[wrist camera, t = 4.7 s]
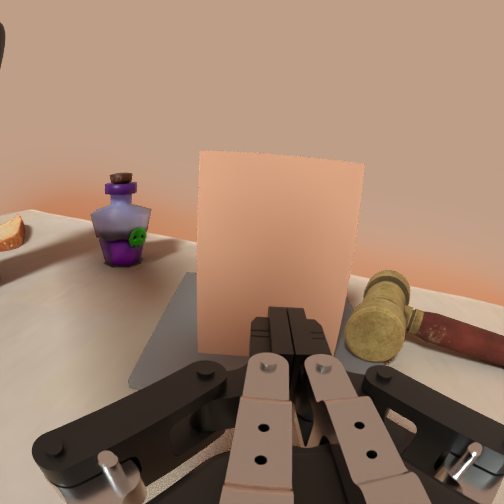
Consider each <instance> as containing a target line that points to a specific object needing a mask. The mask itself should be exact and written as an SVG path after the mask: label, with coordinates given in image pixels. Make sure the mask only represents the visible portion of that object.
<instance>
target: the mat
mask: <svg viewBox="0 0 504 504" xmlns="http://www.w3.org/2000/svg"><path fill="white" fill-rule="evenodd" d="M353 311H354V310H353V308H352V306H351V305H350V303H349V301H348V299H347V298H346V301H345V306H344V311H343V316H342V320H341V325H340V330H339V334H338V339H337V343H336V348H335V352H334V356H333V357H335V358H337V359H338V360H339V361H340V362H341V363H342V364H343V367H344V369H345V370H346V371H349V372H353V373H358V374H363V375H365V373H366V370H367V369H368V368H369V367H371V366H374V365H385V364H384V363H383V362H377V363H374V362H367V361H364V360H362V359H360V358H358V357H357V356H355V355H354V354H353V353H352V352H351V351H350V349H349V348H348V346H347V344H346V342H345V336H344V335H345V327H346V324H347V322H348V320H349V318H350V316H351V315H352V313H353ZM202 360H209V361H214V362H217V363H219V364H221V365H222V366H223V367H225V369H226V371H230V370H235V369H239V368H241V367H243V366H245V365H246V364H247V363H248V360H249V357H248V356H233V355H220V354H208V353H198V339H197V273H189V272H187V273H186V275H185V277H184V278H183V280H182V282H181V284H180V285H179V287H178V289H177V291H176V292H175V294H174V296H173V298H172V300H171V301H170V303H169V305H168V307H167V309H166V311H165V312H164V314H163V316H162V318H161V320H160V321H159V323H158V325H157V327H156V329H155V331H154V333H153V334H152V336H151V338H150V340H149V342H148V344H147V346H146V348H145V349H144V351H143V353H142V355H141V357H140V359H139V361H138V363H137V365H136V367H135V369H134V370H133V372H132V374H131V376H130V378H129V380H128V382H129V387H130V388H135V389H143V388H145V387H147V386H149V385H151V384H153V383H155V382H157V381H159V380H161V379H163V378H165V377H167V376H168V375H170V374H172V373H174V372H176V371H178V370H180V369H182V368H184V367H186V366H187V365H189V364H191V363H193V362H196V361H202ZM292 403H295V402H292Z"/></svg>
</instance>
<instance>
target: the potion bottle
mask: <svg viewBox="0 0 504 504" xmlns="http://www.w3.org/2000/svg"><path fill="white" fill-rule="evenodd" d="M110 180H111V183H107V184H105V194H110V195H111V205H109V206H106V207H103V208H101V209H98V210H96V211H94V212H93V213H92V214H91V219H92V223H93V226H94V230H95V234H96V237H97V238H100V239H99V241H100V245H101V248H102V252H103V255H104V258H105V264H107V265H109V266H111V267H130V266H134V265H137V264H140V263H141V261H142V258H141V255H142V249H143V243H144V242H145V239H146V231H147V229H148V224H149V219H150V214H151V209H149V208H146V207H142V206H138V205H134V204H132V203H131V202H132V201H131V200H132V193H136V192H137V182H131V180H132V174H131V173H116V174H112V175H110Z"/></svg>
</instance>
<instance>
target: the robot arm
mask: <svg viewBox="0 0 504 504" xmlns="http://www.w3.org/2000/svg"><path fill="white" fill-rule="evenodd" d="M4 47H5V30H4V27H3V25H2V24H1V23H0V67H1V63H2V58H3V52H4ZM292 402H295V411H294V416H293V418H294V423H295V427H296V432H297V436H298V440H299V445H300V447H297V446H292ZM390 409H391V410H393V411H395V412H396V413H398V414H400V415H402V416H403V417H405V418H407V419H408V420H410V421H412V422H413V423H414V424H415V425H416V427H417V433H416V434H414V433H412V432H410V431H408V430H407V429H405V428H403V427H402V426H400V425H398V424H397V423H395V422H393V421H392V420H390V419H388V418H387V415H388V413H389V411H390ZM229 428H235V430H234V436H233V441H232V446H231V451H228V452H224V453H221V454H218V455H216V456H213V457H211V458H209V459H208V460H206V461H204V462H203V463H201V464H200V465H198V466H197V467H196V468H195V469H193V470H192V471H191V472H189V473H188V474H187V475H185V476H184V477H183V478H181V479H180V480H179V481H177V482H176V483H174V484H173V485H172V486H170V487H169V488H168V489H166V490H165V491H163V492H162V493H160V494H159V495H157V496H156V497H155V498H153V499H152V500H150V501H149V502H147V503H146V504H492V502H493V500H494V498H495V496H496V493H497V491H498V489H499V487H500V484H501V482H502V479H503V477H504V425H503V424H501V423H498V422H496V421H494V420H492V419H490V418H488V417H486V416H484V415H482V414H480V413H478V412H476V411H474V410H472V409H470V408H468V407H466V406H464V405H462V404H460V403H458V402H456V401H454V400H452V399H451V398H449V397H447V396H445V395H443V394H441V393H439V392H437V391H435V390H433V389H431V388H429V387H427V386H426V385H424V384H422V383H420V382H418V381H416V380H414V379H412V378H410V377H408V376H407V375H405V374H403V373H401V372H399V371H397V370H395V369H394V368H391V367H389V366H385V365H374V366H371V367H369V368H368V369H367V370H366V373H365V375H363V374H358V373H353V372H349V371H346V370H345V369H344V367H343V364H342V363H341V362H340V361H339V360H338V359H337V358H335V357H333V356H332V354H331V351H330V348H329V345H328V342H327V340H326V337H325V334H324V331H323V328H322V325H320V324H319V323H318V322H317V321H316V320H315V319H307V318H306V315H305V311H304V308H295V307H274V306H269V307H268V315H267V317H255V318H254V320H253V321H252V322H251V329H250V342H249V360H248V363H247V364H246V365H245V366H243V367H241V368H239V369H235V370H230V371H226V369H225V367H223V366H222V365H221V364H219V363H217V362H214V361H209V360H202V361H196V362H193V363H191V364H189V365H187V366H186V367H184V368H182V369H180V370H178V371H176V372H174V373H172V374H170V375H168V376H167V377H165V378H163V379H161V380H159V381H157V382H155V383H153V384H151V385H149V386H147V387H145V388H143V389H141V390H139V391H137V392H135V393H133V394H131V395H129V396H127V397H125V398H123V399H121V400H118V401H116V402H114V403H112V404H110V405H108V406H106V407H104V408H101V409H99V410H97V411H95V412H93V413H91V414H88V415H86V416H84V417H82V418H80V419H77V420H75V421H73V422H70V423H68V424H66V425H64V426H61V427H59V428H57V429H54V430H52V431H49V432H47V433H45V434H43V435H41V436H40V437H38V438H37V439H36V441H35V442H34V444H33V447H32V455H33V458H34V460H35V462H36V463H37V465H38V466H39V467H40V469H41V470H42V472H43V473H44V476H45V478H46V479H47V480H48V482H49V483H50V484H51V486H52V487H53V488H54V489H55V491H56V492H57V493H58V494H59V496H60V497H61V498H62V499H63V500H65V501H66V503H67V504H143V502H144V501H145V499H146V495H147V492H146V488H145V487H146V486H148V485H150V484H151V483H153V482H154V481H156V480H158V479H159V478H161V477H162V476H164V475H166V474H167V473H169V472H170V471H172V470H173V469H175V468H176V467H178V466H179V465H181V464H182V463H184V462H185V461H187V460H188V459H190V458H191V457H193V456H194V455H195V454H197V453H198V452H200V451H201V450H203V449H204V448H205V447H207V446H208V445H210V444H211V443H212V442H214V441H215V440H216V439H218V438H219V437H220V436H222V435H223V434H224V432H225V430H226V429H229Z"/></svg>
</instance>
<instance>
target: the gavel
mask: <svg viewBox="0 0 504 504" xmlns="http://www.w3.org/2000/svg"><path fill="white" fill-rule="evenodd" d="M409 300H410V286H409V284H408V282H407V280H406V279H405V277H403V275H401V274H400V273H398V272H396V271H392V270H385V271H381V272H378V273H377V274H375V275H374V276H373V277H372V278H371V279H370V281H369V282H368V284H367V286H366V289H365V291H364V300H363V302H362V303H361V304H359V305H358V306H357V307H356V308H355V310H354V311H353V313H352V315H351V316H350V318H349V320H348V322H347V324H346V327H345V335H344V336H345V342H346V344H347V346H348V348H349V349H350V351H351V352H352V353H353V354H354V355H355V356H357V357H358V358H360V359H362V360H364V361H367V362H374V363H377V362H383V361H387V360H389V359H391V358H392V357H394V356H395V355H396V354H397V353H398V352H399V351H400V349H401V347H402V346H403V343H404V339H405V332H406V330H407V331H408V333H411V334H414V335H416V336H418V337H420V338H421V339H423V340H425V341H427V342H430V343H433V344H436V345H439V346H442V347H445V348H448V349H451V350H454V351H457V352H460V353H463V354H467V355H470V356H473V357H476V358H479V359H482V360H485V361H488V362H492V363H495V364H498V365H501V366H504V336H502V335H499V334H496V333H493V332H491V331H488V330H485V329H482V328H479V327H476V326H473V325H470V324H467V323H464V322H461V321H458V320H455V319H452V318H449V317H446V316H443V315H440V314H437V313H431V312H424V311H421V310H418V309H415V310H413V307H410V306H408V305H409Z"/></svg>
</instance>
